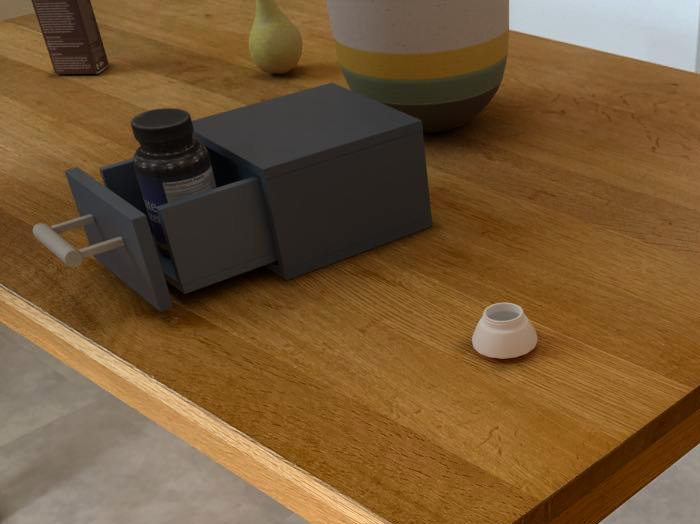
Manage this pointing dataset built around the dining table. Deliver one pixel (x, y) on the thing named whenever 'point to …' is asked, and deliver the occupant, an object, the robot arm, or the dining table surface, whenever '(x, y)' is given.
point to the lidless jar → (504, 332)
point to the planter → (423, 54)
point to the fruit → (274, 39)
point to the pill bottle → (168, 162)
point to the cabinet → (327, 172)
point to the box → (71, 36)
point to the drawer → (167, 230)
